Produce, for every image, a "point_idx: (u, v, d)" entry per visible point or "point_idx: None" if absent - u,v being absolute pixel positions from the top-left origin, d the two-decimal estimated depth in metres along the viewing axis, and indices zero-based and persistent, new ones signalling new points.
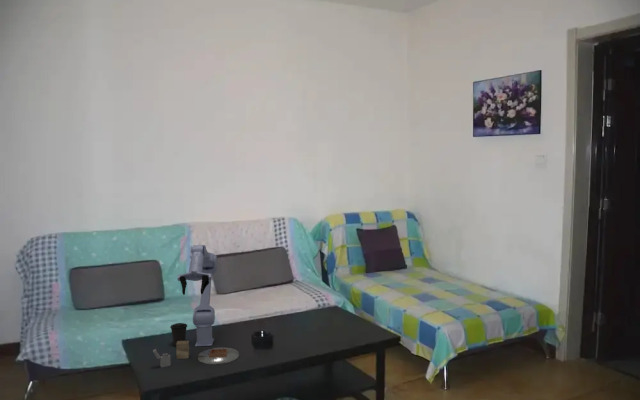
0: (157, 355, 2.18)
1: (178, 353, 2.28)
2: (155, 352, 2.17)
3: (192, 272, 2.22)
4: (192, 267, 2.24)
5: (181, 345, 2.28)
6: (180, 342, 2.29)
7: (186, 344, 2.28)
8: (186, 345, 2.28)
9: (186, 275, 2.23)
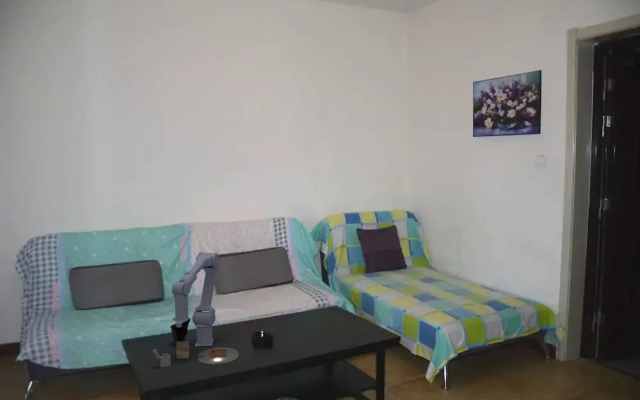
0: (157, 355, 2.18)
1: (178, 353, 2.28)
2: (155, 352, 2.17)
3: None
4: None
5: (181, 345, 2.28)
6: (180, 342, 2.29)
7: (186, 344, 2.28)
8: (186, 345, 2.28)
9: None
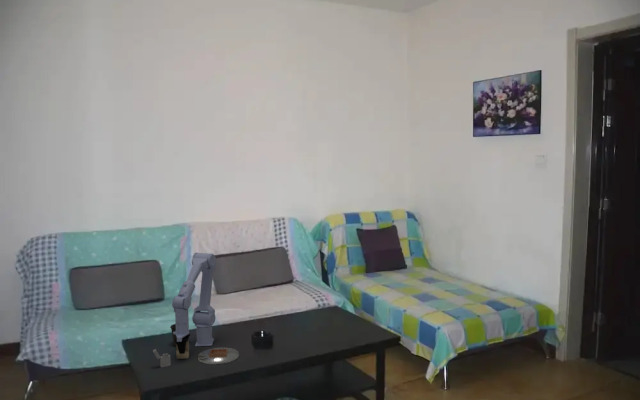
0: (157, 355, 2.18)
1: (178, 353, 2.28)
2: (155, 352, 2.17)
3: None
4: None
5: None
6: None
7: (186, 344, 2.28)
8: (186, 345, 2.28)
9: None
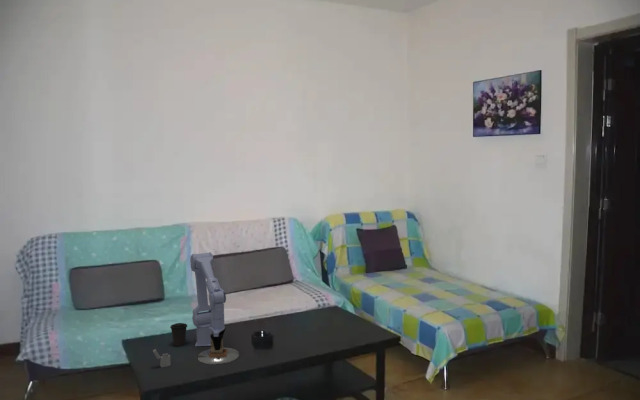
0: (157, 355, 2.18)
1: (212, 350, 2.29)
2: (155, 352, 2.17)
3: None
4: None
5: None
6: None
7: None
8: None
9: None
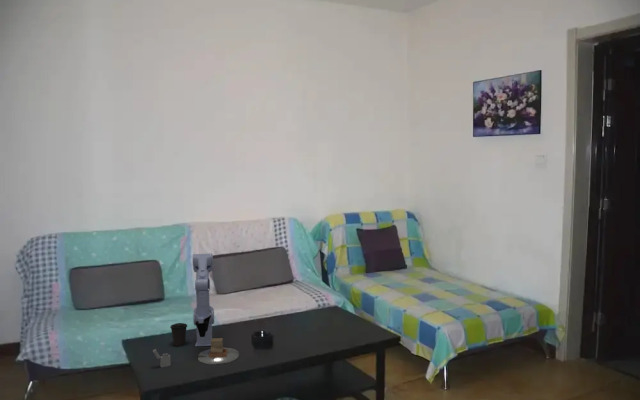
0: (157, 355, 2.18)
1: (212, 350, 2.29)
2: (155, 352, 2.17)
3: None
4: None
5: (216, 342, 2.28)
6: (214, 339, 2.29)
7: (220, 341, 2.29)
8: (220, 342, 2.29)
9: None
